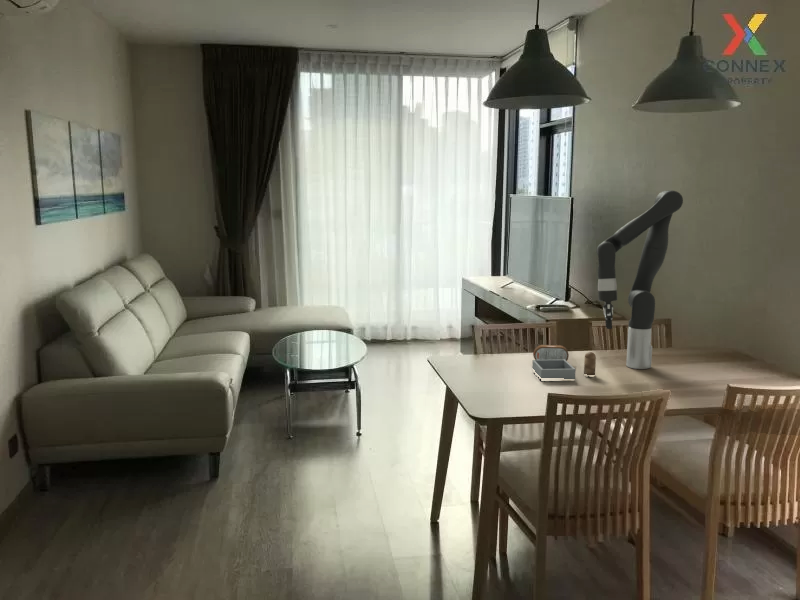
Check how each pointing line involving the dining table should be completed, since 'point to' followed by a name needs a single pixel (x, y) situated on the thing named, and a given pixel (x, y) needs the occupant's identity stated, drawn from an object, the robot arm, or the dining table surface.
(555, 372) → the bin
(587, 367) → the pepper mill
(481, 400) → the dining table surface
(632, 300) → the robot arm
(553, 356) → the tin
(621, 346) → the dining table surface
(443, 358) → the dining table surface
